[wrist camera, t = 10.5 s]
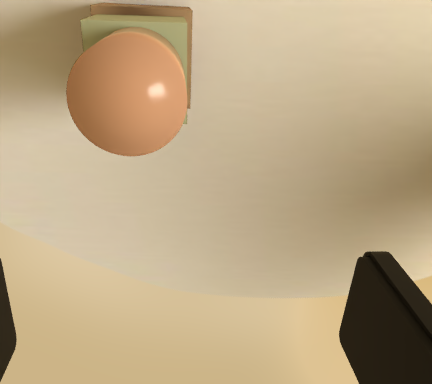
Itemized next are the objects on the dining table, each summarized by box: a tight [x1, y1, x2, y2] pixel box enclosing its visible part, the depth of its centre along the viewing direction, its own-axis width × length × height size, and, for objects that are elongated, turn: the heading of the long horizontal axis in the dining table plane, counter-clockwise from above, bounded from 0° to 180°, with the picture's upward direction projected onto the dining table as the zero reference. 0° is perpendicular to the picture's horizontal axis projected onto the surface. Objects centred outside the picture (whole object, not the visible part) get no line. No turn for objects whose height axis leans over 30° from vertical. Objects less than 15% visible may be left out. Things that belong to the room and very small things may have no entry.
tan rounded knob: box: [66, 27, 187, 156], centre depth 22 cm, size 6×6×6 cm
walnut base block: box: [90, 3, 192, 109], centre depth 33 cm, size 7×7×6 cm
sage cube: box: [80, 14, 187, 124], centre depth 27 cm, size 6×6×6 cm
